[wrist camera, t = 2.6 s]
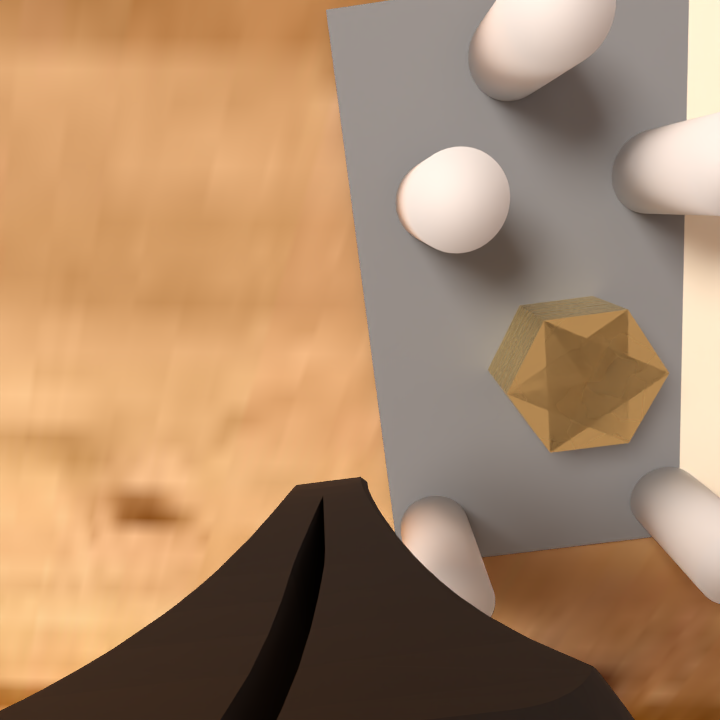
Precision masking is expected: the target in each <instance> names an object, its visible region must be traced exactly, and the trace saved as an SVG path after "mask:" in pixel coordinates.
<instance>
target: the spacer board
mask: <svg viewBox="0 0 720 720" xmlns="http://www.w3.org/2000/svg"><path fill="white" fill-rule="evenodd" d="M326 12H327V20H328V28H329V35H330V43H331V50H332V58H333V65H334V73H335V81H336V88H337V96H338V103H339V111H340V118H341V126H342V133H343V141H344V149H345V156H346V164H347V171H348V179H349V186H350V194H351V201H352V209H353V217H354V224H355V232H356V239H357V247H358V254H359V262H360V269H361V277H362V285H363V292H364V300H365V307H366V315H367V322H368V330H369V338H370V345H371V353H372V360H373V368H374V375H375V383H376V390H377V398H378V406H379V413H380V421H381V428H382V436H383V443H384V451H385V458H386V466H387V474H388V481H389V489H390V496H391V504H392V511H393V519H394V527H395V534H396V535H397V536H398V537H399V539H400V540H401V541H402V542H403V543H404V544H405V546H406V547H407V548H408V549H409V550H410V551H411V552H412V554H413V555H414V556H415V557H416V558H417V559H418V560H419V561H420V562H421V563H422V564H423V565H424V566H425V567H426V568H427V569H428V570H429V571H430V572H431V573H433V574H434V575H435V576H436V577H437V578H438V579H439V580H440V581H441V582H443V583H444V584H445V585H446V586H447V587H449V588H450V589H451V590H452V591H454V592H455V593H456V594H457V595H458V596H460V597H461V598H463V599H464V600H466V601H467V602H469V603H470V604H472V605H473V606H475V607H476V608H477V609H479V610H480V611H482V612H483V613H485V614H486V615H488V616H489V617H491V616H492V614H493V611H494V608H495V594H494V591H493V588H492V585H491V582H490V579H489V577H488V574H487V571H486V568H485V565H484V563H483V560H482V557H489V556H498V555H506V554H514V553H523V552H531V551H539V550H548V549H556V548H564V547H573V546H581V545H589V544H598V543H606V542H614V541H623V540H631V539H639V538H648V537H653V538H654V539H655V540H656V541H657V542H658V544H659V545H660V546H661V547H662V548H663V549H664V550H665V551H666V552H667V554H668V555H669V556H670V557H671V558H672V559H673V560H674V561H675V563H676V564H677V565H678V566H679V567H680V568H681V569H682V570H683V571H684V573H685V574H686V575H687V576H688V577H689V578H690V579H691V580H692V582H693V583H694V584H695V585H696V586H697V587H698V588H699V589H700V590H701V592H702V593H703V594H704V595H705V596H706V597H707V598H708V599H710V600H712V601H713V602H716V603H718V604H720V0H390V1H383V2H376V3H370V4H363V5H356V6H349V7H343V8H336V9H329V10H326ZM588 296H594V297H597V298H599V299H602V300H605V301H607V302H610V303H612V304H615V305H618V306H620V307H623V308H625V309H628V310H629V312H630V313H631V315H632V316H633V318H634V319H635V321H636V323H637V324H638V326H639V327H640V329H641V330H642V332H643V333H644V335H645V336H646V338H647V339H648V341H649V343H650V344H651V346H652V347H653V349H654V350H655V352H656V353H657V355H658V356H659V358H660V360H661V361H662V363H663V364H664V366H665V367H666V369H667V370H668V372H669V375H668V376H667V378H666V380H665V382H664V383H663V385H662V387H661V388H660V390H659V392H658V394H657V395H656V397H655V399H654V401H653V402H652V404H651V406H650V407H649V409H648V411H647V413H646V414H645V416H644V418H643V419H642V421H641V423H640V425H639V426H638V428H637V430H636V432H635V433H634V435H633V437H632V438H631V440H630V442H629V443H624V444H616V445H608V446H600V447H592V448H584V449H576V450H568V451H560V452H552V453H550V452H549V451H548V449H547V448H546V447H545V446H544V444H543V443H542V442H541V440H540V439H539V438H538V437H537V435H536V434H535V433H534V432H533V430H532V429H531V428H530V426H529V425H528V424H527V423H526V421H525V420H524V419H523V417H522V416H521V415H520V413H519V412H518V410H517V409H516V408H515V406H514V405H513V404H512V402H511V401H510V400H509V398H508V397H507V396H506V394H505V393H504V392H503V390H502V389H501V387H500V386H499V385H498V383H497V382H496V381H495V379H494V378H493V377H492V375H491V374H490V373H489V371H488V369H489V367H490V365H491V362H492V360H493V358H494V356H495V354H496V352H497V350H498V348H499V346H500V344H501V342H502V340H503V338H504V336H505V334H506V332H507V330H508V328H509V326H510V324H511V322H512V320H513V318H514V316H515V314H516V312H517V310H518V308H519V306H520V305H527V304H535V303H542V302H550V301H558V300H565V299H573V298H580V297H588Z"/></svg>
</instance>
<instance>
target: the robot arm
mask: <svg viewBox="0 0 720 720" xmlns="http://www.w3.org/2000/svg"><path fill="white" fill-rule="evenodd" d="M0 720H634V718H633V717H632V716H631V714H630V713H629V711H628V710H627V709H626V707H625V706H624V704H623V703H622V702H621V700H620V699H619V698H618V697H617V695H616V694H615V693H614V691H613V690H612V689H611V687H610V686H609V685H608V683H607V682H606V681H605V679H604V678H603V677H602V676H601V674H600V673H599V672H598V671H597V670H596V669H595V668H594V667H593V666H591V665H588V664H586V663H584V662H581V661H579V660H577V659H575V658H572V657H570V656H568V655H565V654H563V653H561V652H559V651H556V650H554V649H552V648H549V647H547V646H545V645H543V644H540V643H538V642H536V641H533V640H531V639H529V638H527V637H525V636H523V635H521V634H520V633H518V632H516V631H514V630H512V629H511V628H509V627H507V626H505V625H503V624H502V623H500V622H498V621H496V620H494V619H493V618H491V617H489V616H488V615H486V614H485V613H483V612H482V611H480V610H479V609H477V608H476V607H475V606H473V605H472V604H470V603H469V602H467V601H466V600H464V599H463V598H461V597H460V596H458V595H457V594H456V593H455V592H454V591H452V590H451V589H450V588H449V587H447V586H446V585H445V584H444V583H443V582H441V581H440V580H439V579H438V578H437V577H436V576H435V575H434V574H433V573H431V572H430V571H429V570H428V569H427V568H426V567H425V566H424V565H423V564H422V563H421V562H420V561H419V560H418V559H417V558H416V557H415V556H414V555H413V554H412V552H411V551H410V550H409V549H408V548H407V547H406V546H405V544H404V543H403V542H402V541H401V540H400V539H399V537H398V536H397V535H396V534H395V532H394V531H393V530H392V528H391V527H390V525H389V524H388V523H387V521H386V520H385V518H384V517H383V516H382V514H381V512H380V511H379V509H378V508H377V506H376V504H375V502H374V500H373V499H372V497H371V494H370V492H369V489H368V484H367V482H366V481H365V480H364V479H363V478H361V477H357V478H349V479H341V480H333V481H325V482H317V483H309V484H301V485H296V486H295V487H294V488H293V489H292V491H291V492H290V493H289V494H288V495H287V496H286V498H285V499H284V500H283V501H282V502H281V503H280V505H279V506H278V507H277V508H276V509H275V510H274V512H273V513H272V514H271V515H270V516H269V517H268V519H267V520H266V521H265V522H264V523H263V524H262V525H261V526H260V527H259V529H258V530H257V531H256V532H255V533H254V534H253V535H252V536H251V537H250V539H249V540H248V541H247V542H246V543H244V544H243V545H242V546H241V547H240V548H239V549H238V550H237V551H236V552H235V553H234V554H233V555H232V556H231V557H230V558H229V559H228V560H227V561H226V562H225V563H224V564H223V565H222V566H221V567H220V568H219V569H218V570H217V571H216V572H215V573H214V574H213V575H212V576H211V577H209V578H208V579H207V580H206V581H205V582H204V583H203V584H201V585H200V586H199V587H198V588H197V589H195V590H194V591H193V592H192V593H190V594H189V595H188V596H187V597H185V598H184V599H183V600H182V601H180V602H179V603H178V604H177V605H175V606H174V607H173V608H172V609H170V610H169V611H168V612H166V613H165V614H163V615H162V616H161V617H159V618H158V619H156V620H155V621H153V622H152V623H150V624H149V625H147V626H146V627H144V628H143V629H142V630H140V631H139V632H137V633H136V634H134V635H133V636H131V637H130V638H128V639H127V640H125V641H124V642H123V643H121V644H120V645H118V646H117V647H115V648H114V649H112V650H110V651H109V652H107V653H105V654H104V655H102V656H100V657H99V658H97V659H95V660H94V661H92V662H90V663H89V664H87V665H85V666H84V667H82V668H80V669H79V670H77V671H75V672H73V673H72V674H70V675H68V676H66V677H64V678H63V679H61V680H59V681H57V682H55V683H54V684H52V685H50V686H48V687H46V688H45V689H43V690H41V691H39V692H37V693H35V694H33V695H31V696H29V697H27V698H25V699H24V700H22V701H19V702H17V703H15V704H13V705H11V706H9V707H7V708H5V709H3V710H1V711H0Z"/></svg>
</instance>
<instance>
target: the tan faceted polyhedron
mask: <svg viewBox="0 0 720 720" xmlns="http://www.w3.org/2000/svg"><path fill="white" fill-rule="evenodd" d="M488 371H489V373H490V374H491V375H492V377H493V378H494V379H495V381H496V382H497V383H498V385H499V386H500V387H501V389H502V390H503V392H504V393H505V394H506V396H507V397H508V398H509V400H510V401H511V402H512V404H513V405H514V406H515V408H516V409H517V410H518V412H519V413H520V415H521V416H522V417H523V419H524V420H525V421H526V423H527V424H528V425H529V426H530V428H531V429H532V430H533V432H534V433H535V434H536V435H537V437H538V438H539V439H540V440H541V442H542V443H543V444H544V446H545V447H546V448H547V449H548V451H549V452H550V453H552V452H560V451H568V450H576V449H584V448H592V447H600V446H608V445H616V444H624V443H629V442H630V440H631V438H632V437H633V435H634V433H635V432H636V430H637V428H638V426H639V425H640V423H641V421H642V419H643V418H644V416H645V414H646V413H647V411H648V409H649V407H650V406H651V404H652V402H653V401H654V399H655V397H656V395H657V394H658V392H659V390H660V388H661V387H662V385H663V383H664V382H665V380H666V378H667V376H668V375H669V372H668V370H667V369H666V367H665V366H664V364H663V363H662V361H661V360H660V358H659V356H658V355H657V353H656V352H655V350H654V349H653V347H652V346H651V344H650V343H649V341H648V339H647V338H646V336H645V335H644V333H643V332H642V330H641V329H640V327H639V326H638V324H637V323H636V321H635V319H634V318H633V316H632V315H631V313H630V312H629V310H628V309H625V308H623V307H620V306H618V305H615V304H612V303H610V302H607V301H605V300H602V299H599V298H597V297H594V296H588V297H580V298H573V299H565V300H558V301H550V302H542V303H535V304H527V305H520V306H519V308H518V310H517V312H516V314H515V316H514V318H513V320H512V322H511V324H510V326H509V328H508V330H507V332H506V334H505V336H504V338H503V340H502V342H501V344H500V346H499V348H498V350H497V352H496V354H495V356H494V358H493V360H492V362H491V365H490V367H489V369H488Z"/></svg>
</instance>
